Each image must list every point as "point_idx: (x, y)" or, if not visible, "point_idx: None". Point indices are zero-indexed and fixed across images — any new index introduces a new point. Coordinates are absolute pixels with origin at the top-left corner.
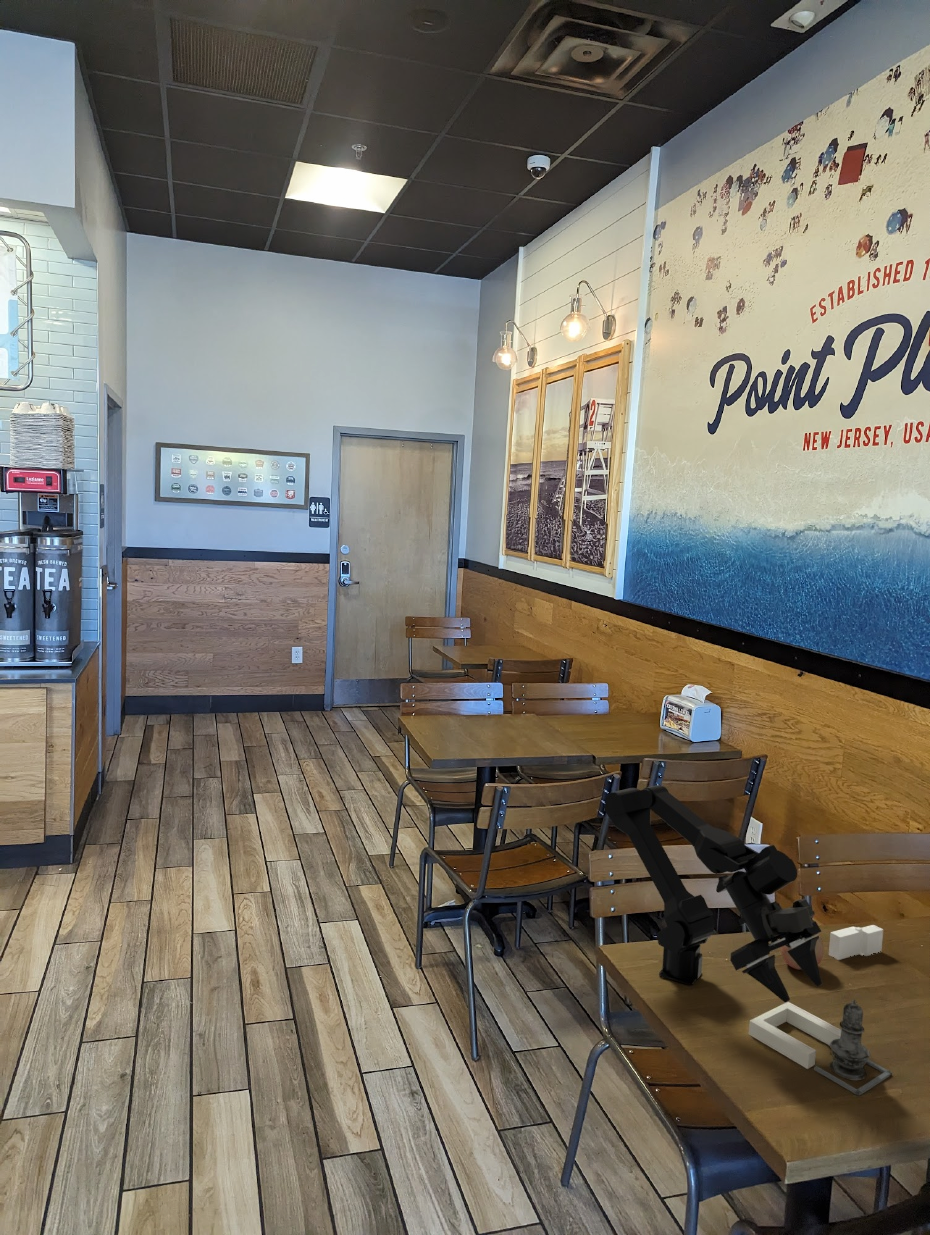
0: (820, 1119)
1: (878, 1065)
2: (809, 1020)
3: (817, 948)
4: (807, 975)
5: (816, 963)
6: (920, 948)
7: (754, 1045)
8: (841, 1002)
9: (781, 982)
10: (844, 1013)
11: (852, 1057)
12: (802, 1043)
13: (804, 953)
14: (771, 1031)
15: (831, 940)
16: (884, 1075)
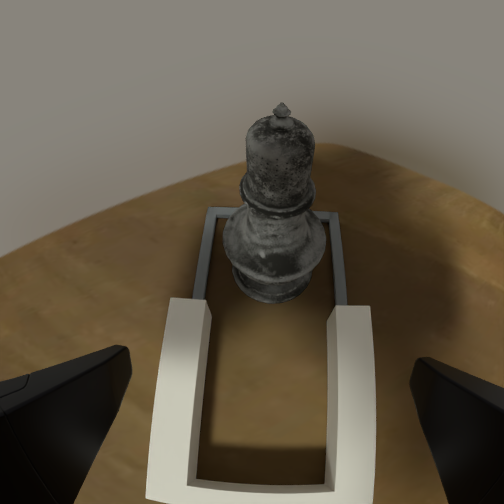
0: (446, 227)
1: (205, 230)
2: (193, 404)
3: None
4: (106, 429)
5: (38, 374)
6: None
7: (388, 456)
8: None
9: (478, 389)
10: (309, 164)
11: (308, 213)
12: (340, 346)
13: (14, 462)
14: (368, 436)
15: None
16: (232, 209)
